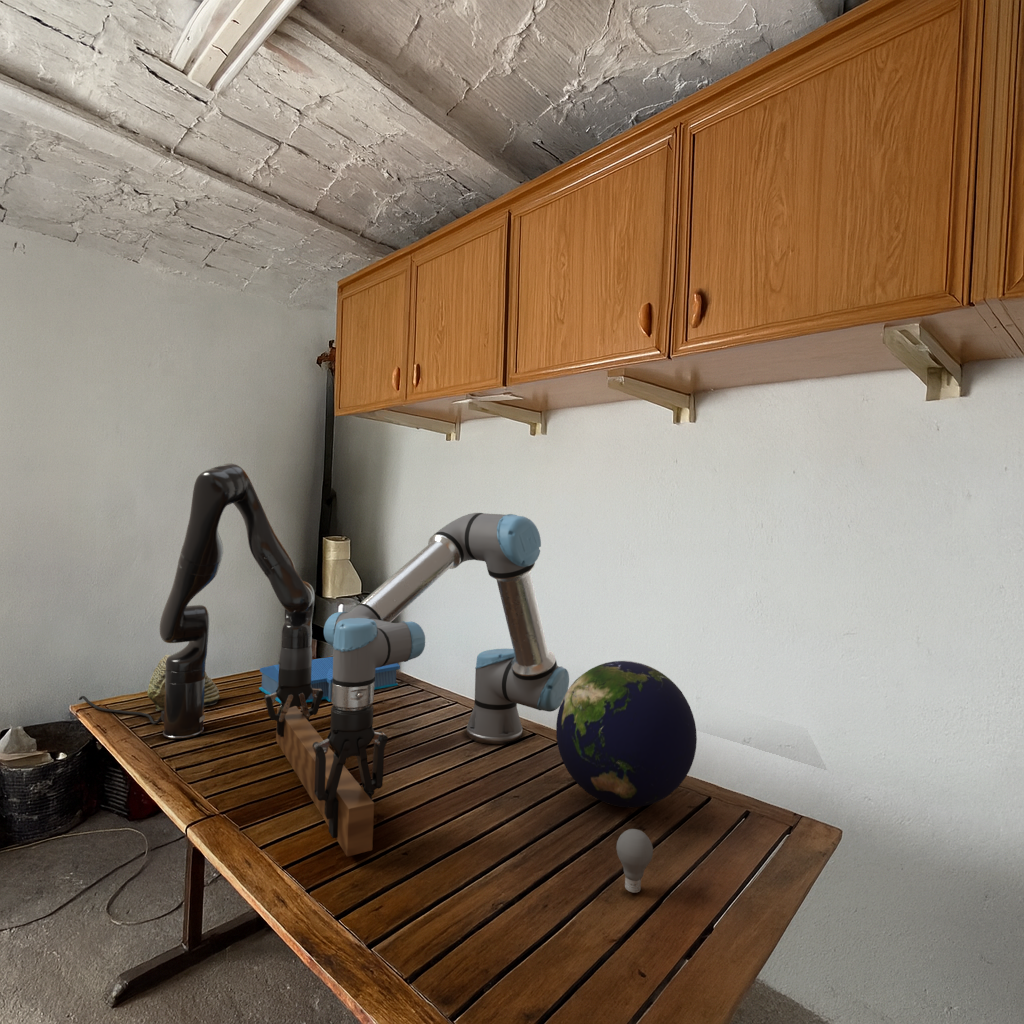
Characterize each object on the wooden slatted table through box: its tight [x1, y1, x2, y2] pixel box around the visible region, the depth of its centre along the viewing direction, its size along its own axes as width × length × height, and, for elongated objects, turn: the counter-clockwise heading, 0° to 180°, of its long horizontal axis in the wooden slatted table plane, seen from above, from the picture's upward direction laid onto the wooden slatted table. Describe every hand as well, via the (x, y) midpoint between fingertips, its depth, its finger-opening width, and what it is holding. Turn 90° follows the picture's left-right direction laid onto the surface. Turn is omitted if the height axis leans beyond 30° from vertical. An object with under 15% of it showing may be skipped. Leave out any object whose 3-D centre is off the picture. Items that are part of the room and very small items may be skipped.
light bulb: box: [615, 828, 654, 894], centre depth 106 cm, size 6×6×10 cm
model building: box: [258, 656, 401, 704], centre depth 208 cm, size 39×24×10 cm, turn 132°
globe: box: [555, 660, 698, 809], centre depth 138 cm, size 30×30×30 cm
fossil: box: [147, 654, 221, 712], centre depth 185 cm, size 9×18×15 cm, turn 132°
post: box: [275, 706, 375, 857], centre depth 135 cm, size 59×4×8 cm, turn 32°
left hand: (292, 733), depth 154 cm, fingers closed on post, 4 cm apart
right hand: (347, 830), depth 116 cm, fingers closed on post, 5 cm apart
